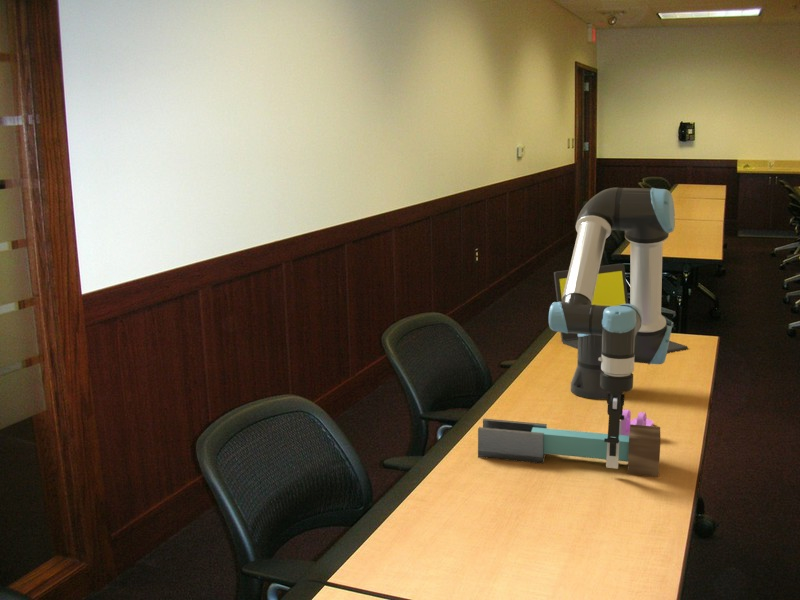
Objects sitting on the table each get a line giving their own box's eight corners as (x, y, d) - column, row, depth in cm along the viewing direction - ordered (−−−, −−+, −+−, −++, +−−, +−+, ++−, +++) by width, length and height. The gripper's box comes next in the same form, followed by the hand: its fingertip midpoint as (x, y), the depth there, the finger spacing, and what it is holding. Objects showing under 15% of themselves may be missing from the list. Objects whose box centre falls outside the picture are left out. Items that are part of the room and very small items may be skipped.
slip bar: (532, 445, 208) (532, 427, 207) (640, 456, 201) (641, 436, 200) (530, 452, 204) (530, 433, 203) (640, 462, 197) (641, 443, 196)
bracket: (641, 440, 216) (642, 415, 214) (620, 436, 219) (621, 411, 217) (655, 424, 227) (656, 400, 225) (635, 421, 230) (636, 397, 228)
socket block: (628, 458, 204) (630, 424, 202) (658, 461, 202) (660, 426, 200) (627, 473, 196) (629, 438, 194) (658, 477, 194) (660, 440, 192)
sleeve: (483, 446, 214) (483, 418, 212) (546, 452, 209) (546, 424, 208) (477, 457, 207) (478, 428, 205) (542, 463, 202) (543, 434, 201)
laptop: (616, 364, 282) (619, 288, 276) (551, 340, 312) (553, 271, 306) (687, 350, 297) (692, 278, 291) (620, 329, 327) (622, 263, 321)
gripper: (603, 356, 209) (600, 435, 213) (597, 387, 185) (594, 475, 190) (634, 358, 207) (630, 438, 211) (632, 389, 183) (628, 479, 188)
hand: (613, 456), depth 201 cm, fingers open, 13 cm apart
